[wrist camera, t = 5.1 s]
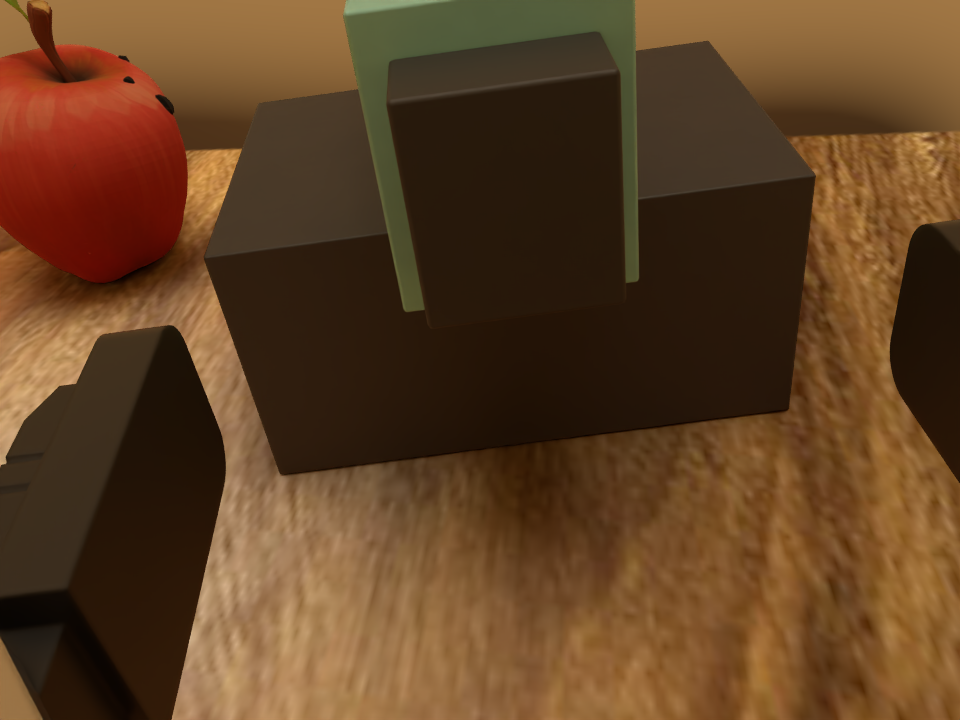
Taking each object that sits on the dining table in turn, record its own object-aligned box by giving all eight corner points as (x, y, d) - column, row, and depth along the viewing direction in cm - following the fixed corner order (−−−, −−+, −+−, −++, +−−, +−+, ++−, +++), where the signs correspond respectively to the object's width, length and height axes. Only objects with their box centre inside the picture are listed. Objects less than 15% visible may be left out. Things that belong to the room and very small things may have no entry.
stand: (701, 238, 27) (708, 40, 24) (789, 409, 21) (817, 174, 17) (310, 291, 28) (257, 102, 24) (279, 475, 21) (202, 257, 18)
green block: (406, 88, 24) (369, -125, 21) (559, 67, 24) (545, -151, 20) (403, 372, 14) (334, 52, 11) (660, 338, 14) (661, 6, 11)
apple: (249, 204, 33) (157, -97, 27) (192, 312, 28) (62, -34, 22) (50, 221, 34) (-82, -67, 28) (-42, 328, 28) (-231, 1, 22)
